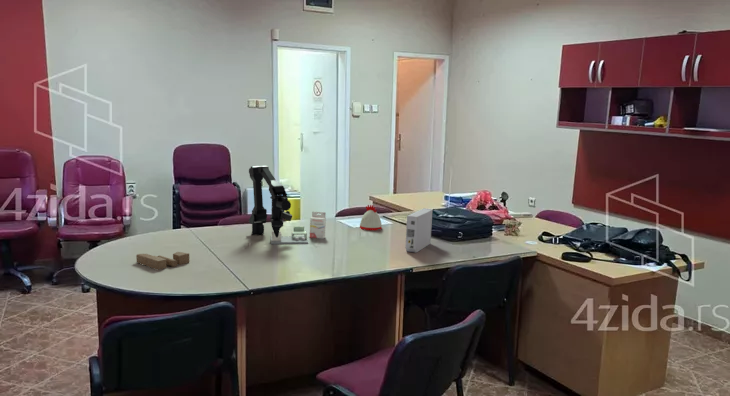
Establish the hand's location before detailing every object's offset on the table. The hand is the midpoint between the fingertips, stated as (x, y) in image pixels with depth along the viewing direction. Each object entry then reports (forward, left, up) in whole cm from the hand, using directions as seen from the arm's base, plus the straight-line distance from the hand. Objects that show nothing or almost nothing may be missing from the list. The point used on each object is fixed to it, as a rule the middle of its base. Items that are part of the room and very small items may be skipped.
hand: (276, 235), depth 302 cm
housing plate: (+7, +1, -4) cm, 8 cm away
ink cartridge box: (+24, +9, -4) cm, 26 cm away
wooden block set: (-54, -39, -4) cm, 67 cm away
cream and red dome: (+61, +33, -4) cm, 69 cm away
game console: (+77, -18, -4) cm, 79 cm away
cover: (+13, +5, -2) cm, 14 cm away
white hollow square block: (0, 0, -2) cm, 3 cm away
